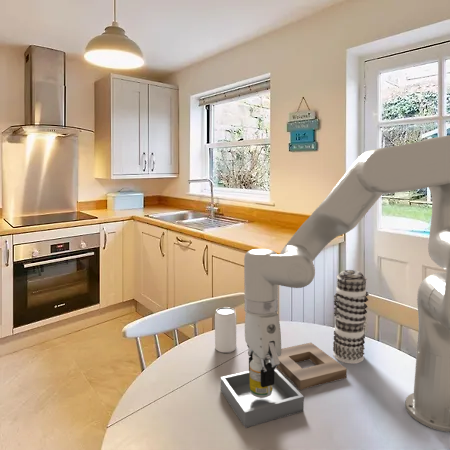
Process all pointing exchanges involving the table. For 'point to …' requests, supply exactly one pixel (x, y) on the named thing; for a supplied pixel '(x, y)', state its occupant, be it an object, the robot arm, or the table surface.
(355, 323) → the decorative candle
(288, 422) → the table surface
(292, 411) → the tray
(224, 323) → the can
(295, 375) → the brown wooden square frame
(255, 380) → the supplement bottle
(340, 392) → the table surface
